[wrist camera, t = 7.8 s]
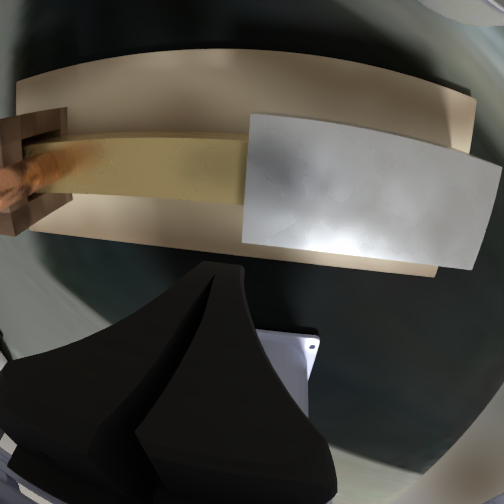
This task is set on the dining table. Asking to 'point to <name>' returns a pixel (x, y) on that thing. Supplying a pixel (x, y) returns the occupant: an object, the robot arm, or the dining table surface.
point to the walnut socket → (10, 151)
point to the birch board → (229, 121)
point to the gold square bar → (132, 166)
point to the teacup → (469, 11)
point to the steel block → (364, 192)
